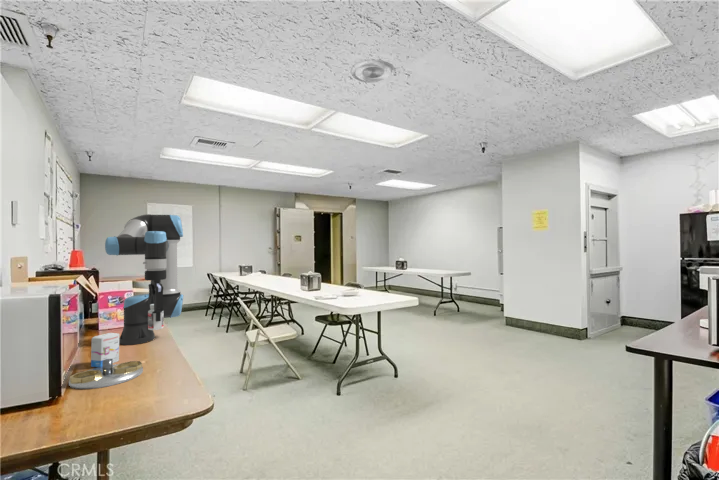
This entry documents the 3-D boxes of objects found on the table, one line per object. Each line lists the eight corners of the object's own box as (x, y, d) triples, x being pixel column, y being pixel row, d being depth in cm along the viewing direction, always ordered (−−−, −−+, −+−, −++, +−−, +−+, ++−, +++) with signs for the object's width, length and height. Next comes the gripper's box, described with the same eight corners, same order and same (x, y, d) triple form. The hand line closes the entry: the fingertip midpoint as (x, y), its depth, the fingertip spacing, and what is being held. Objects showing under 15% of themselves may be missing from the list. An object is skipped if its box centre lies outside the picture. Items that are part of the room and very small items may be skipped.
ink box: (100, 367, 137) (100, 337, 138) (90, 367, 138) (90, 337, 139) (119, 360, 146) (119, 332, 146) (109, 360, 147) (109, 332, 147)
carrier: (98, 367, 138) (98, 351, 138) (154, 365, 139) (154, 350, 139) (51, 390, 116) (51, 371, 116) (118, 388, 117) (118, 369, 117)
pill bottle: (145, 330, 135) (144, 305, 136) (152, 327, 141) (152, 303, 141) (159, 330, 136) (159, 305, 136) (166, 327, 141) (166, 302, 141)
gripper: (140, 269, 143) (140, 325, 143) (149, 271, 129) (150, 334, 129) (160, 268, 148) (160, 322, 148) (172, 270, 134) (172, 330, 134)
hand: (155, 327), depth 138 cm, fingers closed on pill bottle, 5 cm apart
